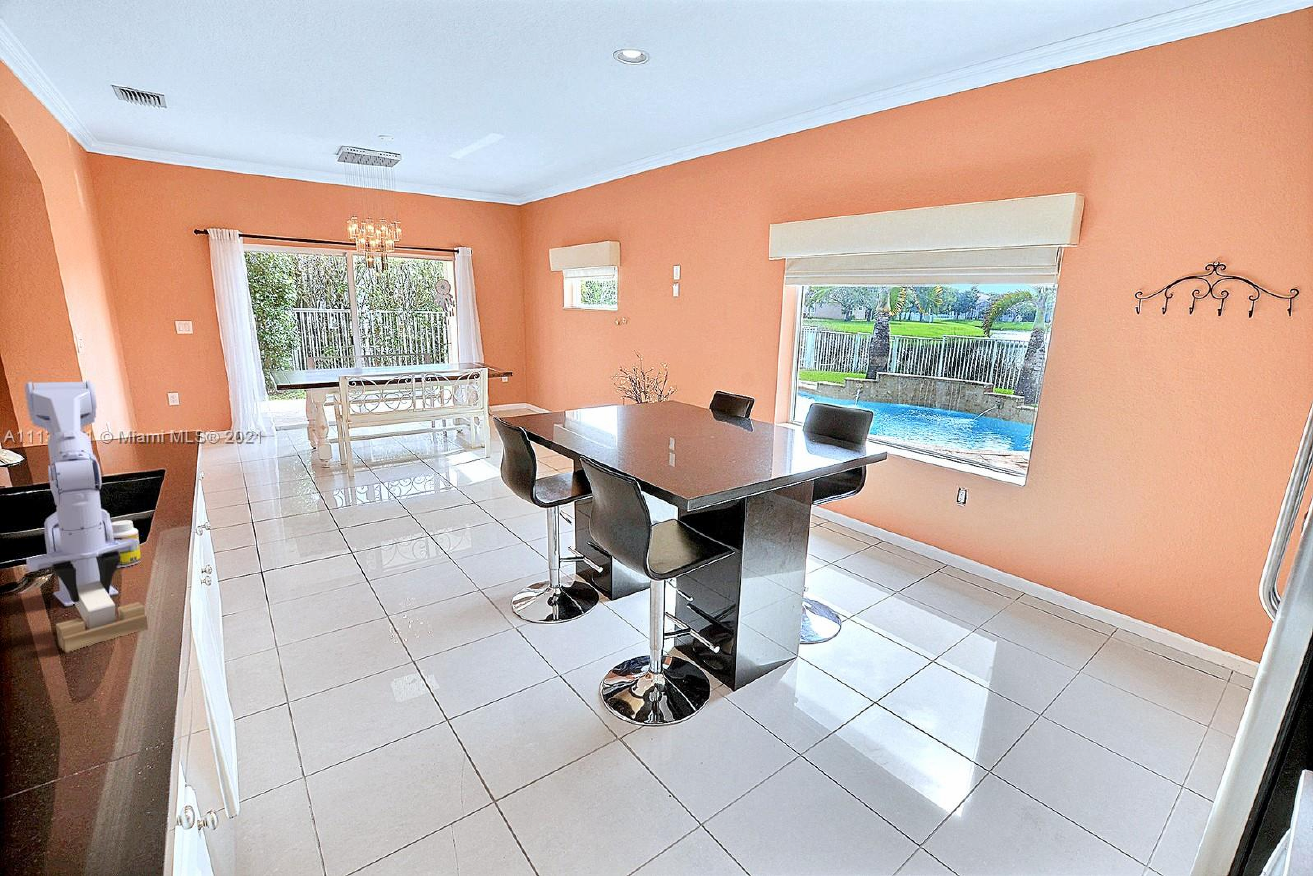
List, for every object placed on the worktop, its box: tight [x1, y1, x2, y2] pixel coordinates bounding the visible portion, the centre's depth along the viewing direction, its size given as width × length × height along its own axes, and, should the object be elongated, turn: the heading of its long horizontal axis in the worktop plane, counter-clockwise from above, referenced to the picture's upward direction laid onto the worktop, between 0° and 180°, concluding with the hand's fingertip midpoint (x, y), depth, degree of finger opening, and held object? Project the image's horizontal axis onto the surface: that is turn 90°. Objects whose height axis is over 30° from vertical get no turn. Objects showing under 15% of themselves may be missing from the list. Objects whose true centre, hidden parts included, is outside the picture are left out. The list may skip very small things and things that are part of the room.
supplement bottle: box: [111, 519, 142, 569], centre depth 138 cm, size 6×6×10 cm
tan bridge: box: [55, 602, 149, 654], centre depth 107 cm, size 4×11×4 cm, turn 146°
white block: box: [74, 581, 116, 630], centre depth 108 cm, size 9×4×4 cm, turn 55°
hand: (90, 596), depth 110 cm, fingers closed on white block, 3 cm apart
